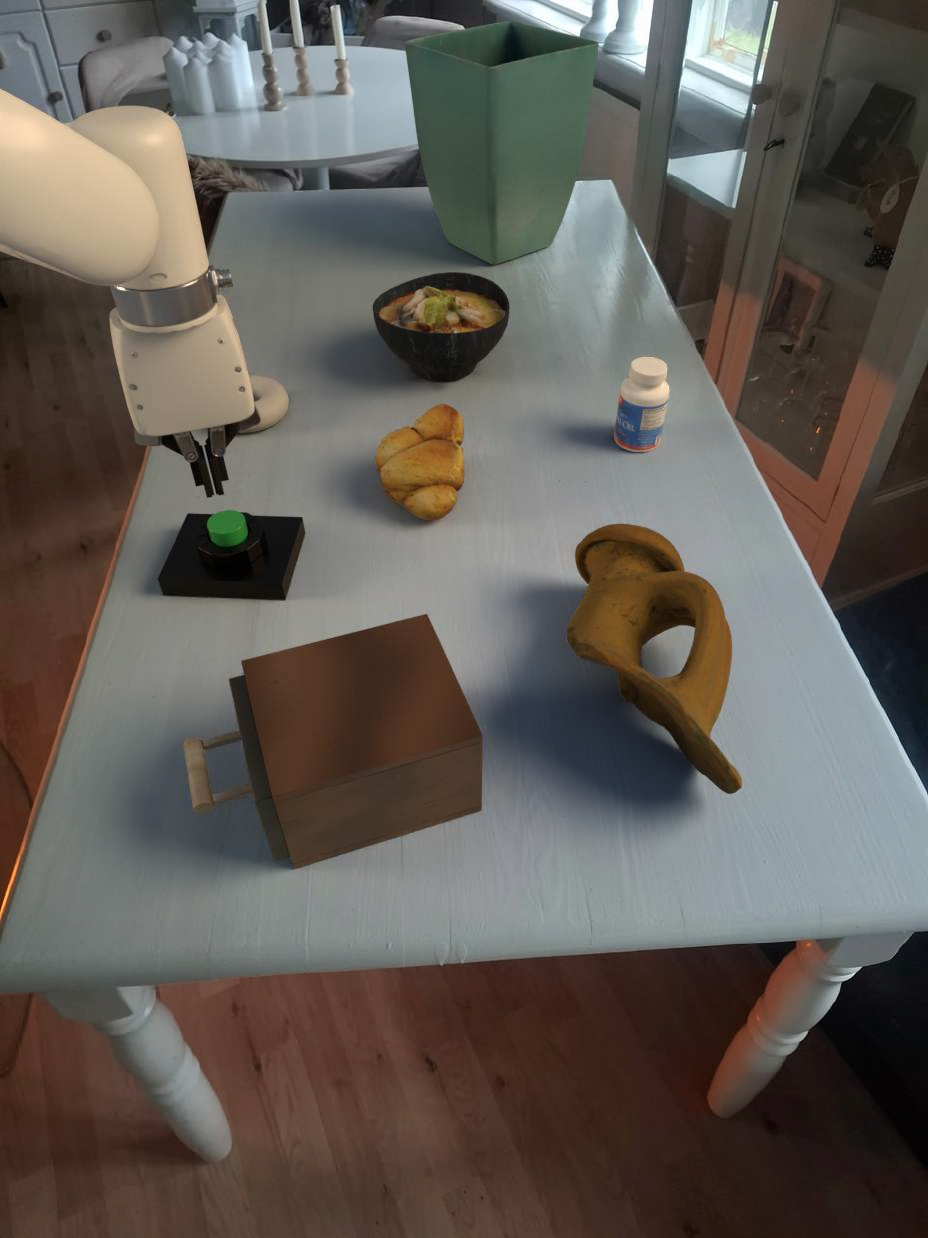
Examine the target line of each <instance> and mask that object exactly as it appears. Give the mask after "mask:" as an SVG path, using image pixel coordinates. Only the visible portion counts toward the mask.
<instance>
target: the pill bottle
mask: <svg viewBox="0 0 928 1238" xmlns="http://www.w3.org/2000/svg"><path fill="white" fill-rule="evenodd" d="M667 374H668V364H667V363H666V362H665V361H664V360H662V359H661V358H657V357H652V356H640V357H637V358H635V359H633V360H632V361H631V363H630V365H629V371H628V376H627V377H626V378H624V380H623V381H622V383H621V385H620V391H619V398H618V404H617V412H616V420H615V426H614V432H613V433H614V434H613V437H614V441H615V443H616V445H618V446H619V447H620V448H621V449H623V450H625V451H627V452H633V453H647V452H650V451H653V450H655V449H656V448H657V447H658V446H659V445H660V443H661V440H662V435H663V429H664V425H665V420H666V419H665V418H666V413H667V408H668V403H669V399H670V398H669V397H670V386H669V384H668V382H667V381H666V379H667Z"/></svg>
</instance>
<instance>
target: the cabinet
mask: <svg viewBox="0 0 928 1238" xmlns="http://www.w3.org/2000/svg"><path fill="white" fill-rule="evenodd" d="M240 662H241V668H242V671H243V675H244V676H245V681H246V685H247V689H248V694H249V698H250V703H251V707H252V711H253V716H254V720H255V724H256V729H257V733H258V738H259V742H260V746H261V751H262V755H263V760H264V764H265V768H266V773H267V777H268V781H269V786H270V790H271V795H272V798H273V802H274V805H275V808H276V812H277V815H278V818H279V821H280V825H281V828H282V831H283V835H284V838H285V841H286V844H287V848H288V851H289V854H290V856H289V858H290V860H291V864H292V868H293V869H294V870H296V869H299V868H303V867H305V866H308V865H311V864H312V865H313V864H315V863H318V862H322V861H325V860H328V859H332V858H334V857H337V856H341V855H344V854H347V853H350V852H354V851H357V850H360V849H363V848H367V847H369V846H373V845H377V844H379V843H383V842H385V841H389V840H392V839H395V838H398V837H401V836H405V835H408V834H412V833H415V832H418V831H421V830H423V829H427V828H431V827H433V826H436V825H439V824H443V823H447V822H449V821H453V820H456V819H459V818H462V817H465V816H468V815H472V814H475V813H478V812H481V811H482V810H483V809H482V808H483V733H482V731H481V728H480V726H479V723H478V722H477V720H476V717H475V716H474V713H473V711H472V709H471V706H470V704H469V702H468V700H467V698H466V695H465V693H464V691H463V688H462V687H461V685H460V682H459V680H458V678H457V675H456V674H455V671H454V670H453V666H452V665H451V663H450V661H449V658H448V656H447V654H446V651H445V649H444V648H443V645H442V643H441V641H440V638H439V637H438V634H437V632H436V629H435V628H434V625H433V623H432V621H431V619H430V617H429V615H428V613H424V614H420V615H417V616H411V617H407V618H405V619H404V618H403V619H401V620H397V621H393V622H389V623H385V624H379V625H377V626H373V627H369V628H365V629H361V630H356V631H353V632H349V633H345V634H340V635H337V636H333V637H330V638H329V637H328V638H325V639H321V640H318V641H314V642H313V641H312V642H310V643H306V644H301V645H298V646H294V647H289V648H286V649H282V650H278V651H274V652H271V653H266V654H263V655H258V656H254V657H251V658H246V659H243V660H241V661H240Z"/></svg>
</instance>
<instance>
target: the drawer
mask: <svg viewBox="0 0 928 1238" xmlns="http://www.w3.org/2000/svg"><path fill="white" fill-rule="evenodd" d="M228 682H229V687H230V693H231V698H232V703H233V706H234V711H235V717H236V721H237V726H238V730H233V731H232V732H228V733H224V734H220V735H216V736H212V737H210V738H205V739H202V738H200V737H199V736H193V737H189V738H187V739H186V740H184V742H183V745H182V746H183V753H184V759H185V765H186V771H187V773H186V774H187V780H188V784H189V785H188V786H189V792H190V798H191V804H192V811H193V812H194V814H196V815H199V816H200V815H201V816H203V815H207V814H209V813H211V812H212V811H213V810H214V808H215V806H218V805H222V804H225V803H229V802H232V801H236V800H239V799H242V798H246V797H249V796H253V801H254V805H255V808H256V811H257V814H258V817H259V820H260V823H261V826H262V829H263V832H264V835H265V838H266V841H267V844H268V847H269V850H270V852H271V853H270V854H271V856H272V859H273V861H275V862H276V861H279V860H282V859H286V858H290V854H289V851H288V848H287V844H286V841H285V838H284V835H283V831H282V828H281V825H280V821H279V818H278V815H277V812H276V808H275V805H274V802H273V798H272V795H271V790H270V786H269V781H268V777H267V773H266V768H265V764H264V760H263V755H262V751H261V746H260V742H259V738H258V733H257V729H256V724H255V720H254V716H253V711H252V707H251V703H250V698H249V694H248V689H247V685H246V681H245V676H244V674H242V675H238V676H234V677H230V678H229V679H228ZM238 742H241V745H242V749H243V753H244V758H245V764H246V769H247V773H248V779H249V782H250V783H248V784H244V785H240V786H238V787H234V788H230V789H227V790H223V791H220V792H216V793H213V791H212V786H211V781H210V780H211V779H210V775H209V769H208V768H209V767H208V763H207V762H208V761H207V757H206V751H208V750H212V749H216V748H219V747H223V746H227V745H230V744H235V743H238Z"/></svg>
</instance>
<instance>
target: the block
mask: <svg viewBox="0 0 928 1238" xmlns="http://www.w3.org/2000/svg"><path fill="white" fill-rule="evenodd" d="M239 512H240V513H242V514H243V516H244V517H245V521H246V525H247V529H248V536H247V538H246V539H245V540H244V541H243V542H242V543H240V544H237V545H234V546H230V547H220V546H217V545H215V544H214V543H213V542H212V541H211V538H210V535H209V531H208V528H207V522H208V520H209V518H210V517H211V516H212V515H214V514H215V513H192V512H190V513H189V512H188V513H186V515H185V518H184V520H183V522H182V524H181V526H180V529H179V531H178V533H177V535H176V537H175V540H174V542H173V543H172V546H171V548H170V550H169V552H168V555H167V557H166V559H165V561H164V563H163V566H162V568H161V569H160V572H159V574H158V576H157V579H156V580H157V582H158V585H159V588H160V591H161V593H162V596H167V597H168V596H169V597H189V598H190V597H196V598H221V599H245V600H246V599H247V600H250V599H251V600H274V601H286V600H287V597H288V593H289V590H290V587H291V584H292V579H293V576H294V572H295V570H296V566H297V563H298V560H299V556H300V553H301V549H302V547H303V543H304V540H305V536H306V529H305V523H304V517H302V516H283V515H282V516H281V515H256V514H255V515H254V514H251V513H249V512H244V511H242V512H241V511H239Z"/></svg>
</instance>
